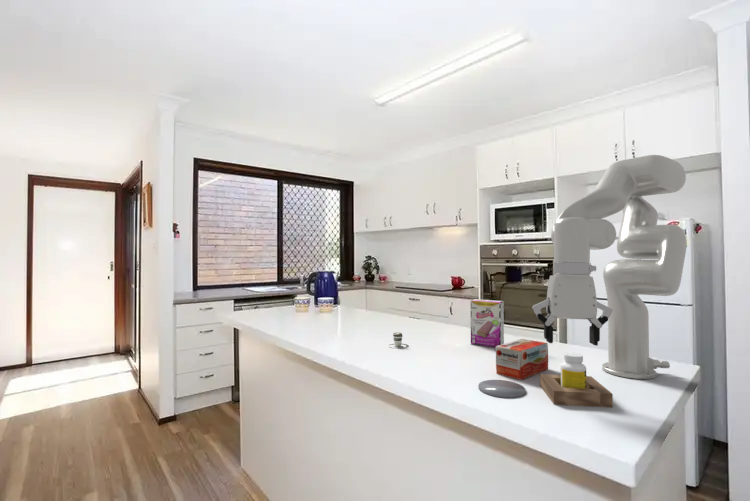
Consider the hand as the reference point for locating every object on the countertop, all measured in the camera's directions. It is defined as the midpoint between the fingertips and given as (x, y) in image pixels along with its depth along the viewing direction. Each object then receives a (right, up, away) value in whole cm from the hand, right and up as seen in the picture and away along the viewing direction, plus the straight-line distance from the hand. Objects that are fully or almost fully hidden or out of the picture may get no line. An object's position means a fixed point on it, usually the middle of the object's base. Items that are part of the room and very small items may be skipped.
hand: (571, 343), depth 89 cm
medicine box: (-4, -13, +19) cm, 24 cm away
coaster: (-15, -13, +5) cm, 20 cm away
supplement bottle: (+1, -13, 0) cm, 13 cm away
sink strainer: (-38, -14, +51) cm, 65 cm away
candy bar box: (-5, -13, +51) cm, 53 cm away
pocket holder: (+1, -13, 0) cm, 13 cm away
